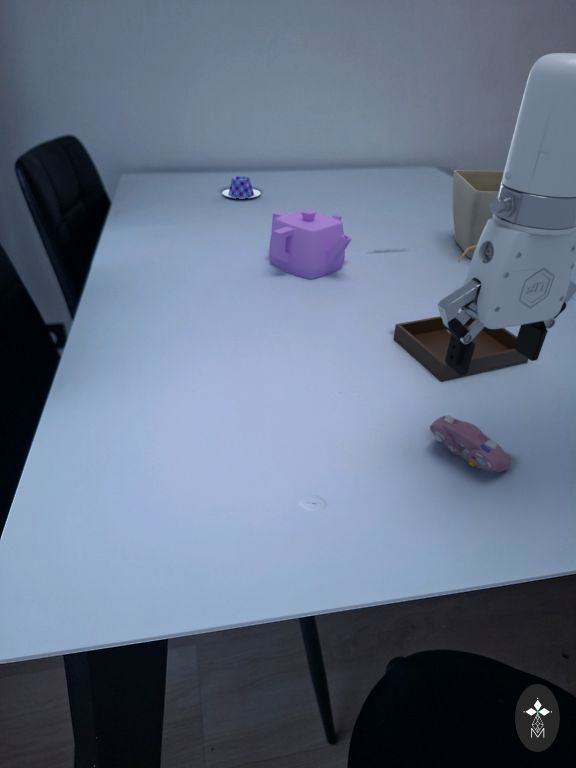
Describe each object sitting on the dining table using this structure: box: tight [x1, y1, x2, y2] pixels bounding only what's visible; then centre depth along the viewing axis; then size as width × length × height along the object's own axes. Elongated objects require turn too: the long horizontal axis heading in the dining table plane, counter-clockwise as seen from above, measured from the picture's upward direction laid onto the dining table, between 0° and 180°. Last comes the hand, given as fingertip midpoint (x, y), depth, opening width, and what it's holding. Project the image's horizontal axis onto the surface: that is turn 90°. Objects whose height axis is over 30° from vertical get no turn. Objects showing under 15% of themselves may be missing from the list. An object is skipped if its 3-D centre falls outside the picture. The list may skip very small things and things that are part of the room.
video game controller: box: [429, 414, 513, 473], centre depth 66 cm, size 10×5×7 cm, turn 40°
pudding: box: [221, 175, 261, 200], centre depth 166 cm, size 12×12×5 cm
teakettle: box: [268, 208, 352, 280], centre depth 117 cm, size 17×17×12 cm
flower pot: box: [452, 169, 504, 260], centre depth 127 cm, size 19×19×17 cm
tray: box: [393, 312, 529, 382], centre depth 90 cm, size 17×14×3 cm
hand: (491, 361), depth 60 cm, fingers open, 9 cm apart
